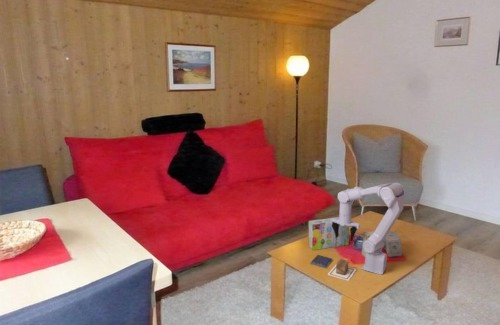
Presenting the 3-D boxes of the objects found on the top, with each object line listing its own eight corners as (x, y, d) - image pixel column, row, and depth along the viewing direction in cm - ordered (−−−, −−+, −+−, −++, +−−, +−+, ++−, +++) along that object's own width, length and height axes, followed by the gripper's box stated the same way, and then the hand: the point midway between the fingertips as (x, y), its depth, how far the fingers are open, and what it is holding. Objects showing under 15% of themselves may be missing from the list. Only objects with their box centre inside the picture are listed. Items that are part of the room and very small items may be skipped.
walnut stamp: (348, 270, 174) (348, 261, 173) (344, 275, 170) (344, 265, 169) (339, 268, 176) (340, 258, 175) (336, 273, 172) (336, 263, 171)
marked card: (356, 270, 175) (356, 269, 175) (348, 281, 166) (348, 280, 166) (336, 264, 180) (336, 263, 180) (327, 274, 171) (327, 274, 171)
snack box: (343, 241, 205) (344, 215, 201) (348, 245, 199) (349, 219, 196) (308, 246, 200) (308, 220, 196) (312, 250, 194) (312, 224, 191)
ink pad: (332, 260, 184) (332, 258, 184) (325, 268, 177) (325, 266, 177) (317, 256, 188) (317, 254, 188) (310, 263, 181) (310, 261, 181)
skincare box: (366, 258, 185) (367, 235, 183) (361, 254, 190) (362, 232, 187) (377, 256, 187) (378, 234, 184) (372, 252, 191) (373, 230, 188)
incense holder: (381, 248, 195) (382, 230, 193) (397, 249, 194) (398, 230, 192) (384, 257, 186) (386, 238, 183) (402, 258, 185) (403, 239, 182)
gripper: (328, 213, 184) (327, 238, 187) (357, 219, 176) (355, 245, 179) (333, 208, 189) (332, 233, 193) (361, 214, 182) (360, 239, 185)
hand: (344, 238), depth 186 cm, fingers open, 7 cm apart
